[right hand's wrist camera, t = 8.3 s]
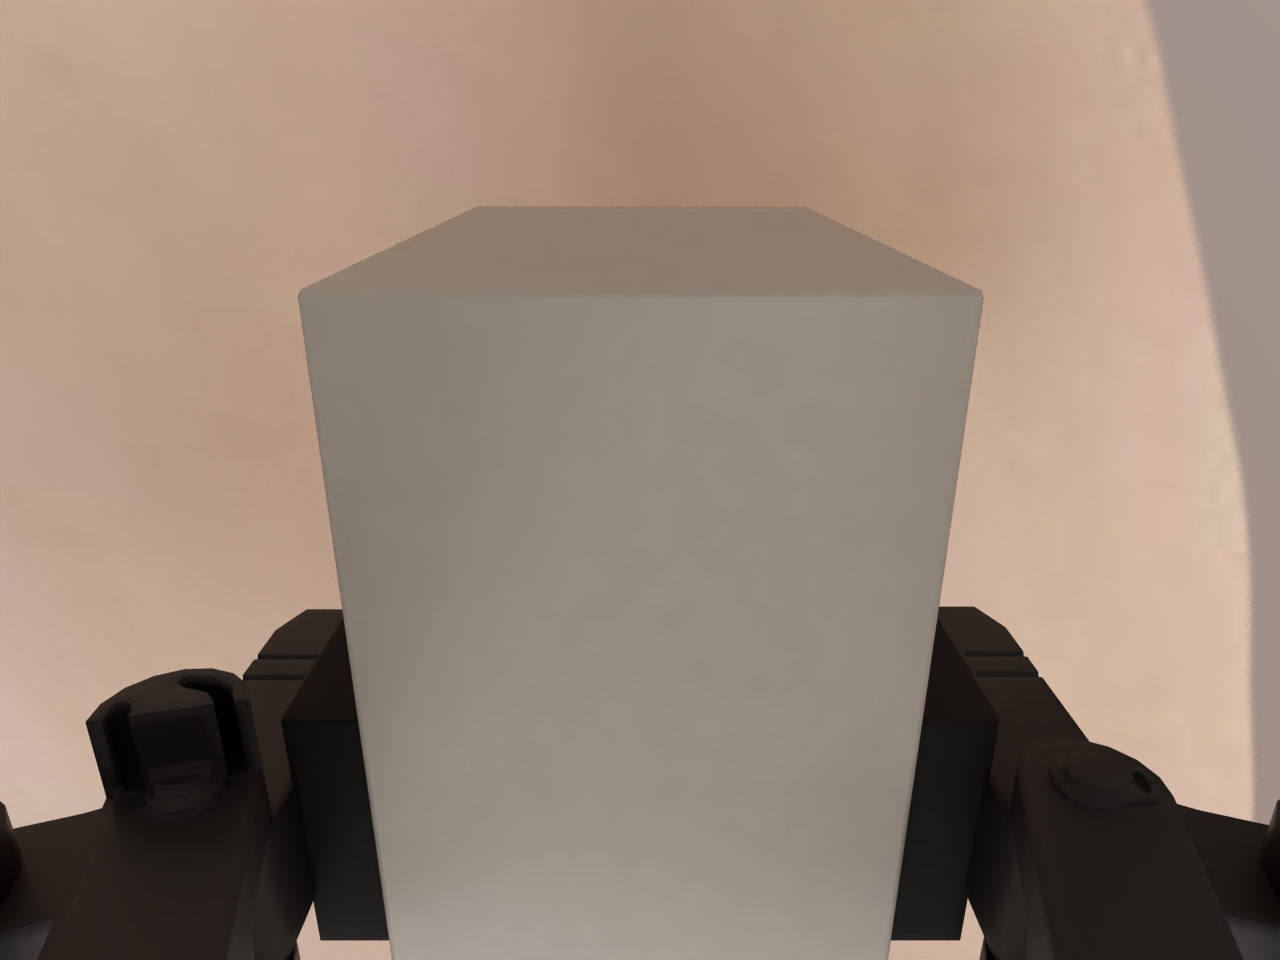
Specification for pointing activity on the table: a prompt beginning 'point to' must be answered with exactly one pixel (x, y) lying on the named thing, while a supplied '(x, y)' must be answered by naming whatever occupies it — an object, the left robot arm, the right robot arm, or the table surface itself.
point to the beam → (640, 573)
